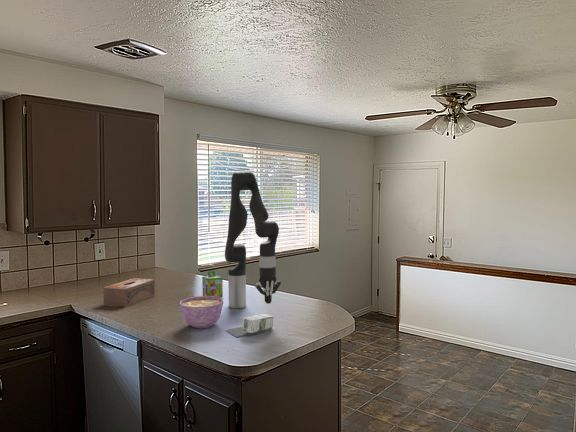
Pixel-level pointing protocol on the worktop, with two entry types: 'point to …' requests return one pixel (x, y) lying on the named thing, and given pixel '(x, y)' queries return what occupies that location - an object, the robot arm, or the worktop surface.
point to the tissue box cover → (128, 292)
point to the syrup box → (257, 323)
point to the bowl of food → (201, 310)
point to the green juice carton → (212, 285)
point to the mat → (242, 332)
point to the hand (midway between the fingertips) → (268, 303)
